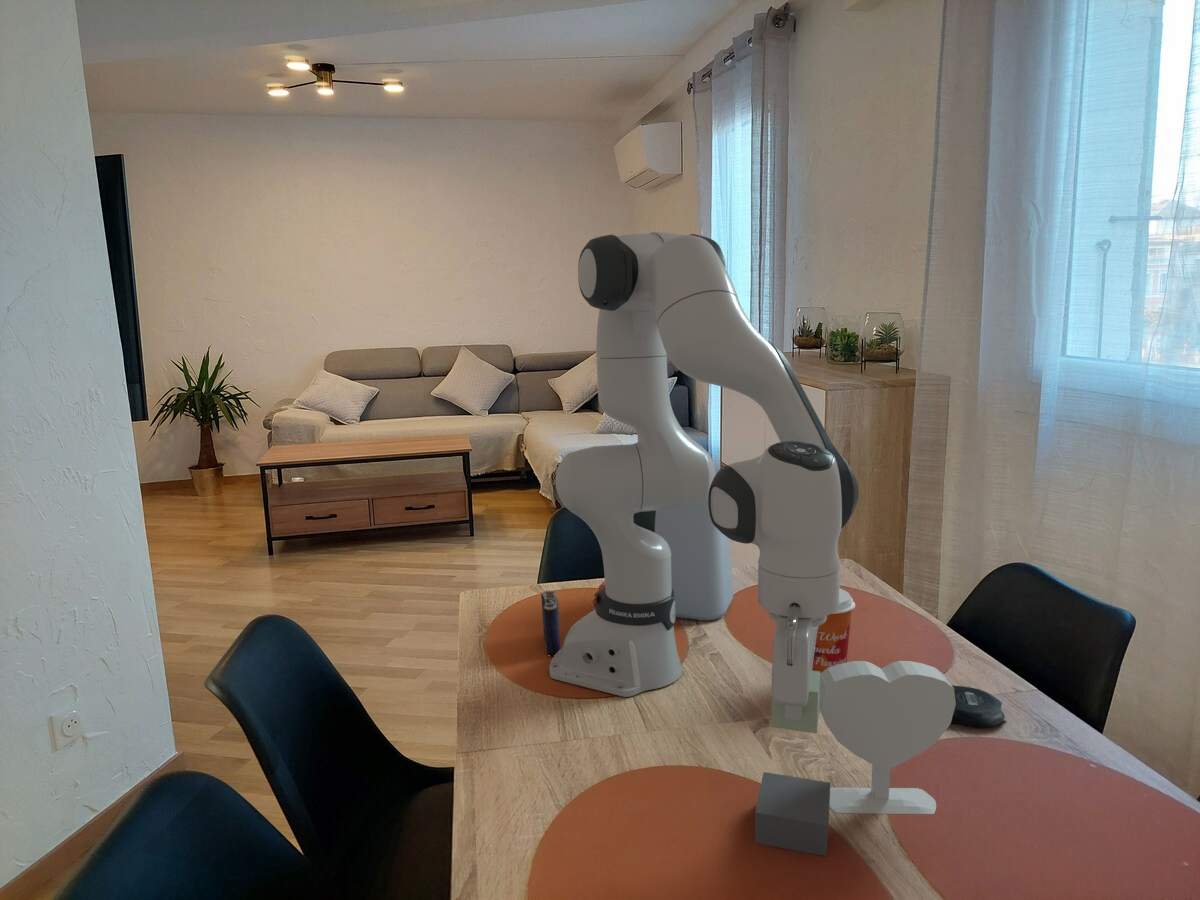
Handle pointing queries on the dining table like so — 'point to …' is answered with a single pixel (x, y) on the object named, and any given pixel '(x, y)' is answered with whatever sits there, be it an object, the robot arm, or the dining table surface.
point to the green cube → (808, 712)
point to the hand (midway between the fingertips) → (795, 701)
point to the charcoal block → (793, 813)
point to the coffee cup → (834, 635)
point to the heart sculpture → (885, 727)
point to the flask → (551, 622)
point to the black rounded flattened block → (976, 708)
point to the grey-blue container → (697, 562)
